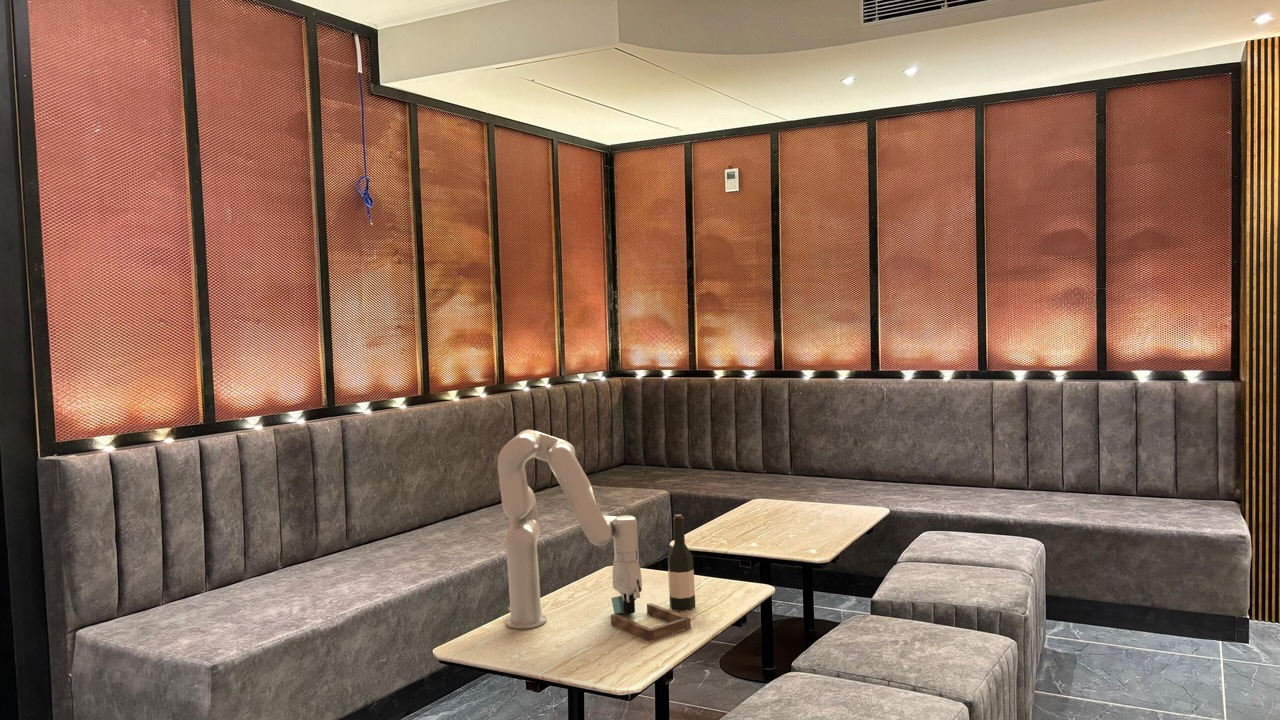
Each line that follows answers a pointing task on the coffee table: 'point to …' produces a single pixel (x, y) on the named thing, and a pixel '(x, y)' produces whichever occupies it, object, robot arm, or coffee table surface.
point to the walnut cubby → (675, 625)
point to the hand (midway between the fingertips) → (629, 613)
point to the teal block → (618, 604)
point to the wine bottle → (680, 570)
